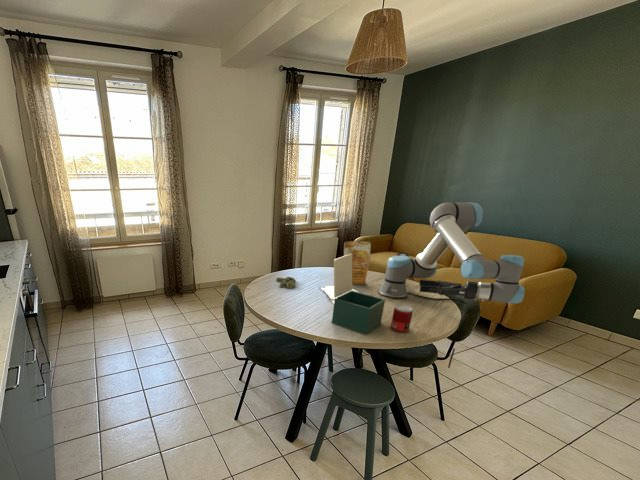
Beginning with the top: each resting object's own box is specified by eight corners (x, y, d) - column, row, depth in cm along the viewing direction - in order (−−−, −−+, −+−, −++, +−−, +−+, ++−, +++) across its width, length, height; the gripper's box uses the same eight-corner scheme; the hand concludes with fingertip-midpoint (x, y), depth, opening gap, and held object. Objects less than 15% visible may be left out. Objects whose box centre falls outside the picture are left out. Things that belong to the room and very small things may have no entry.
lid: (352, 253, 163) (350, 253, 164) (335, 259, 152) (333, 259, 153) (352, 289, 168) (350, 289, 169) (335, 297, 157) (334, 297, 158)
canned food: (407, 334, 152) (412, 312, 148) (389, 329, 156) (393, 308, 151) (409, 327, 158) (414, 306, 154) (391, 323, 162) (395, 303, 157)
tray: (350, 287, 212) (351, 281, 210) (369, 305, 186) (370, 299, 185) (319, 287, 211) (320, 282, 209) (333, 306, 185) (334, 300, 183)
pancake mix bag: (337, 281, 223) (342, 240, 212) (364, 281, 224) (371, 240, 213) (340, 284, 216) (346, 242, 206) (368, 284, 217) (375, 242, 207)
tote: (380, 323, 162) (385, 299, 157) (365, 334, 151) (370, 309, 146) (347, 313, 173) (351, 290, 169) (331, 322, 162) (334, 298, 158)
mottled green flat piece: (275, 279, 225) (276, 276, 225) (293, 279, 226) (293, 276, 225) (280, 288, 209) (280, 285, 208) (298, 288, 209) (298, 285, 208)
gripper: (479, 306, 130) (418, 299, 139) (470, 293, 151) (418, 287, 161) (483, 288, 128) (421, 282, 137) (473, 277, 149) (421, 272, 159)
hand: (419, 285), depth 149 cm, fingers open, 13 cm apart
